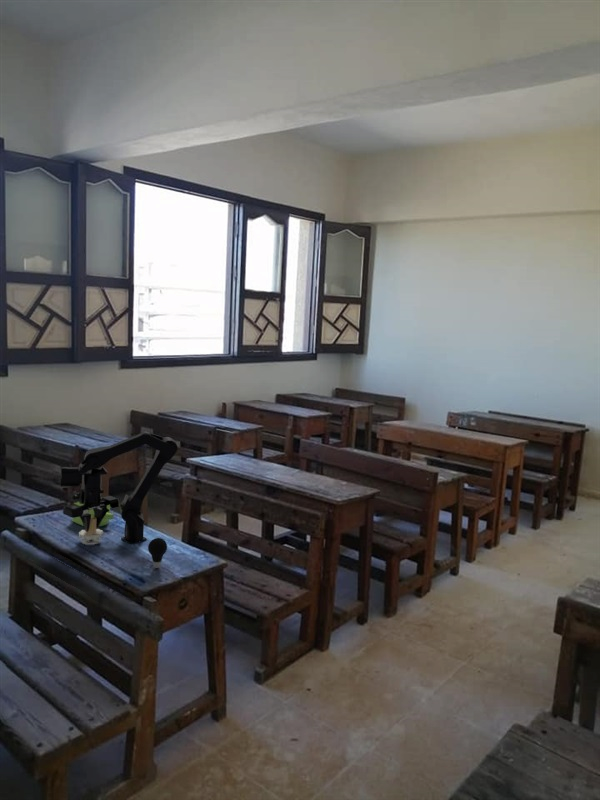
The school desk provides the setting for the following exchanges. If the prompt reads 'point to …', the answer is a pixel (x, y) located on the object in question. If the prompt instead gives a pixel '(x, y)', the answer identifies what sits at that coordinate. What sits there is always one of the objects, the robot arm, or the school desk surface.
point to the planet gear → (91, 531)
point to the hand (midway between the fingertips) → (91, 530)
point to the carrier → (91, 541)
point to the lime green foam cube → (91, 511)
